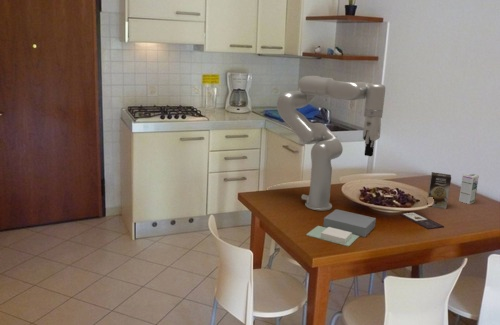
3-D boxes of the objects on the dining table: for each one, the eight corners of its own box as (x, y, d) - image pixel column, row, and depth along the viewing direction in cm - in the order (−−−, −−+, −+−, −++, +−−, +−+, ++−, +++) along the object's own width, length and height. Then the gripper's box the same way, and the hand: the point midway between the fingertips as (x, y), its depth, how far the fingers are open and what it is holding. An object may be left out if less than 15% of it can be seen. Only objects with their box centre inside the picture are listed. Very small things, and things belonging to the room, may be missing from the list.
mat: (306, 235, 194) (306, 234, 194) (317, 226, 204) (317, 225, 204) (348, 246, 185) (348, 245, 185) (359, 236, 196) (359, 235, 195)
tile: (328, 226, 198) (328, 231, 199) (321, 232, 191) (320, 237, 192) (352, 232, 193) (351, 237, 194) (345, 238, 186) (344, 243, 187)
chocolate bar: (428, 228, 207) (400, 214, 223) (427, 230, 208) (400, 216, 224) (444, 226, 211) (415, 212, 227) (443, 228, 211) (415, 214, 227)
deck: (323, 226, 204) (324, 218, 203) (335, 217, 216) (336, 209, 215) (364, 237, 195) (365, 228, 194) (374, 226, 207) (376, 218, 206)
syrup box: (469, 204, 244) (474, 177, 240) (458, 201, 248) (462, 174, 245) (474, 202, 247) (479, 175, 244) (463, 199, 252) (468, 172, 248)
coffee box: (426, 206, 238) (431, 174, 234) (426, 202, 244) (431, 171, 240) (446, 209, 235) (451, 177, 231) (445, 205, 241) (450, 174, 237)
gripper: (376, 116, 196) (371, 160, 201) (387, 112, 209) (382, 154, 213) (358, 114, 200) (354, 157, 204) (370, 110, 212) (365, 151, 217)
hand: (368, 155), depth 209 cm, fingers closed
